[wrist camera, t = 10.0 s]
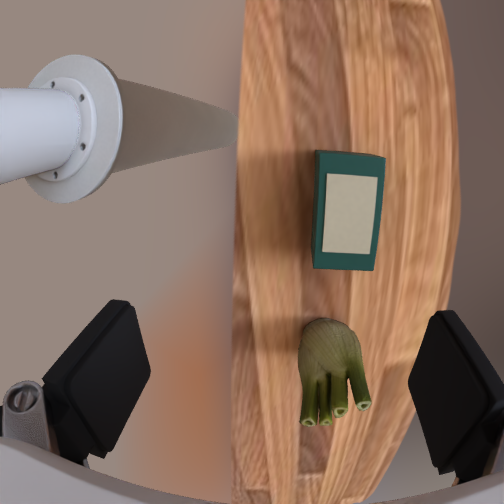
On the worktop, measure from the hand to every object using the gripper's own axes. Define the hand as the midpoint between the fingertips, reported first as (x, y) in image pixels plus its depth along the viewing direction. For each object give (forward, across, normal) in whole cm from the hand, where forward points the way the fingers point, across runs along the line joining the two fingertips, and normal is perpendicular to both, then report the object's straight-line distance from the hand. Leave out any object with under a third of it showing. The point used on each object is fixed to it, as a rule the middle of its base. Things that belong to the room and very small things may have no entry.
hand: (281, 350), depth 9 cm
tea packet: (+19, -5, 0) cm, 20 cm away
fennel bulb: (+20, -5, +14) cm, 24 cm away
